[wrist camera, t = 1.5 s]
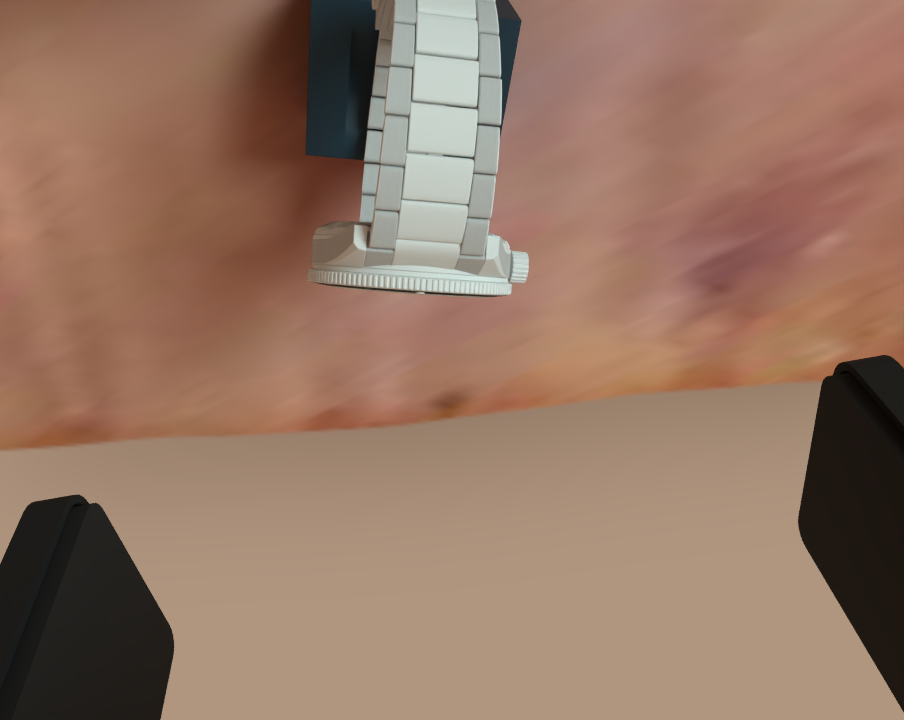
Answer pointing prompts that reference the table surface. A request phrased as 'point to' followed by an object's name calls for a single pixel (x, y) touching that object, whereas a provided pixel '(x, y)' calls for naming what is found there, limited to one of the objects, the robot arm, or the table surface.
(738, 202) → the table surface
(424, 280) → the watch
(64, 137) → the table surface
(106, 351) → the table surface
